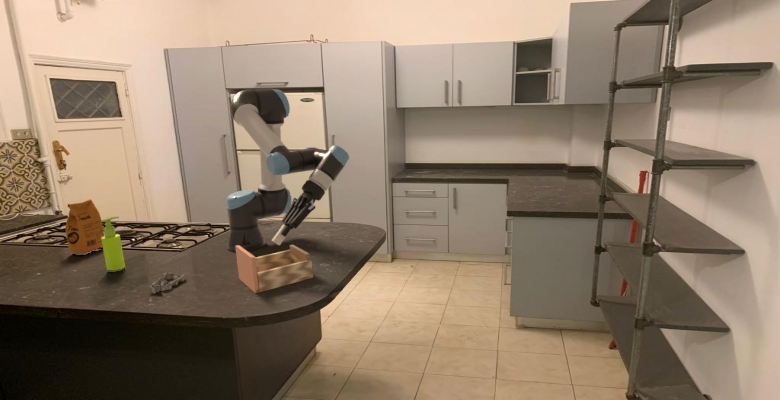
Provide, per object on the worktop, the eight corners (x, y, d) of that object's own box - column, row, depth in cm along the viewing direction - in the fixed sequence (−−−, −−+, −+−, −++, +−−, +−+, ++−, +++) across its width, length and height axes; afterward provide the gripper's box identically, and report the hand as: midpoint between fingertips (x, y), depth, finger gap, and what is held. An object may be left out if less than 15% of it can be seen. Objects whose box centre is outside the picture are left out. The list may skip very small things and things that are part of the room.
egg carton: (169, 281, 155) (167, 270, 154) (188, 282, 153) (187, 271, 152) (147, 294, 144) (145, 282, 144) (167, 295, 143) (165, 283, 142)
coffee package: (65, 255, 188) (55, 204, 183) (92, 246, 200) (83, 198, 195) (83, 257, 185) (73, 205, 181) (110, 247, 197) (101, 198, 192)
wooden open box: (293, 267, 162) (291, 243, 160) (313, 280, 149) (310, 254, 147) (243, 280, 152) (240, 254, 150) (260, 295, 139) (257, 267, 137)
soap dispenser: (131, 267, 170) (122, 215, 166) (115, 273, 164) (105, 220, 160) (120, 265, 172) (111, 215, 168) (103, 272, 166) (93, 219, 162)
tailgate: (242, 277, 152) (238, 245, 149) (259, 292, 139) (255, 256, 136) (239, 278, 151) (235, 245, 148) (255, 293, 138) (251, 257, 136)
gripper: (333, 194, 150) (292, 253, 144) (315, 189, 160) (276, 244, 154) (318, 180, 146) (274, 241, 140) (300, 177, 156) (259, 233, 150)
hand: (275, 242), depth 147 cm, fingers closed
